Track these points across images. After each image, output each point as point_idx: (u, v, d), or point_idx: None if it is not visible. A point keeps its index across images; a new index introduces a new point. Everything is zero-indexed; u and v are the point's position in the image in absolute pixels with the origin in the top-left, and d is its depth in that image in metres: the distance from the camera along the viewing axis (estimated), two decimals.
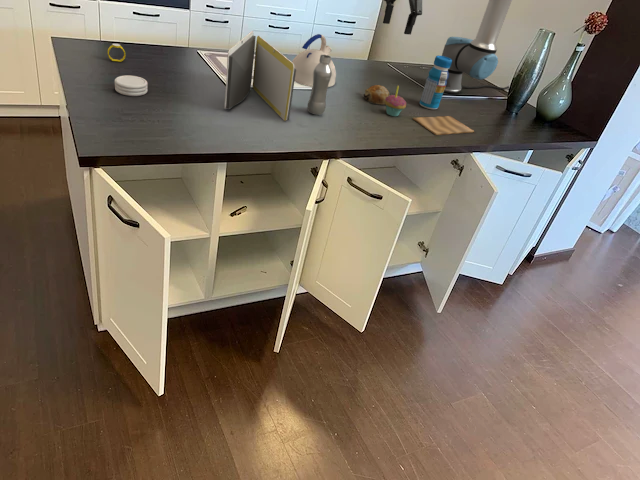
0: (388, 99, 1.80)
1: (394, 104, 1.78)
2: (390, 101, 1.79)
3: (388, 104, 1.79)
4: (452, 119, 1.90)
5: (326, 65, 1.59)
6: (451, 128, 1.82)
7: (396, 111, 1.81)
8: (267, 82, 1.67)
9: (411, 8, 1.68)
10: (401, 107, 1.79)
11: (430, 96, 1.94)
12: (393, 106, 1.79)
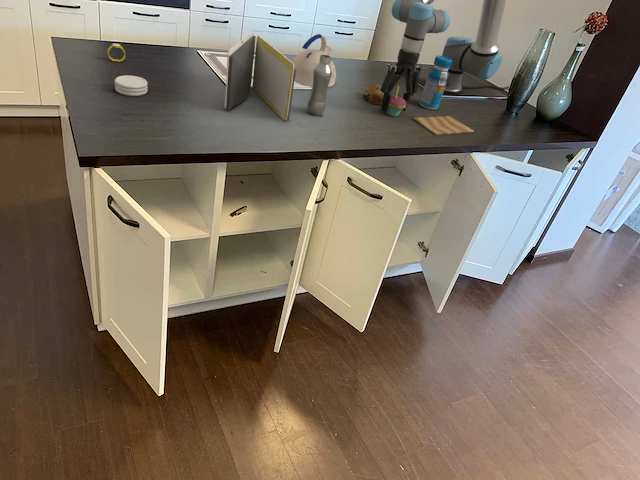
0: None
1: (394, 104, 1.78)
2: (390, 101, 1.79)
3: None
4: (452, 119, 1.90)
5: (326, 65, 1.59)
6: (451, 128, 1.82)
7: (396, 111, 1.81)
8: (267, 82, 1.67)
9: None
10: (401, 107, 1.79)
11: (430, 96, 1.94)
12: (393, 106, 1.79)
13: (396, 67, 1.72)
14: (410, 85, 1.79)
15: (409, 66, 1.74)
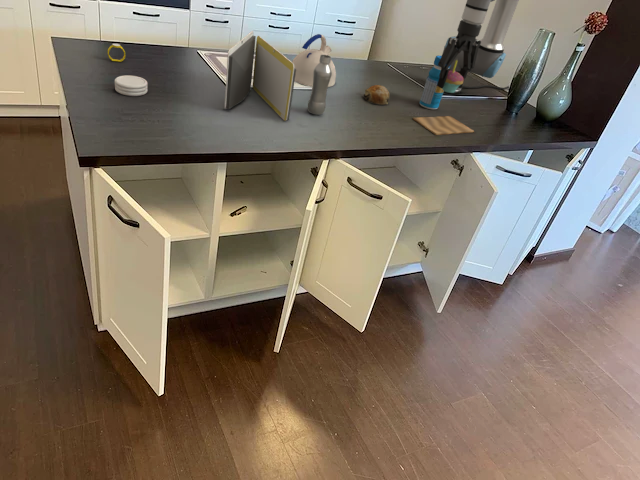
0: None
1: (452, 79, 1.70)
2: (447, 76, 1.71)
3: None
4: (452, 119, 1.90)
5: (326, 65, 1.59)
6: (451, 128, 1.82)
7: (453, 87, 1.73)
8: (267, 82, 1.67)
9: None
10: (459, 83, 1.71)
11: (430, 96, 1.94)
12: (451, 81, 1.71)
13: (456, 40, 1.64)
14: (468, 60, 1.71)
15: (469, 39, 1.66)
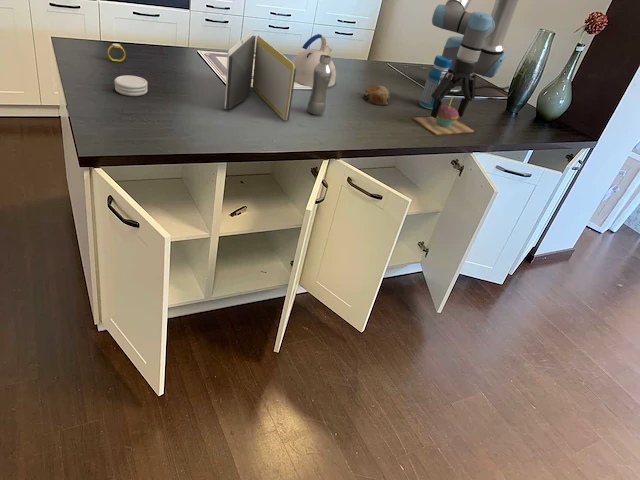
0: (441, 110, 1.79)
1: (447, 115, 1.78)
2: (443, 112, 1.78)
3: (441, 115, 1.79)
4: None
5: (326, 65, 1.59)
6: (451, 128, 1.82)
7: (449, 122, 1.80)
8: (267, 82, 1.67)
9: None
10: (454, 118, 1.79)
11: (430, 96, 1.94)
12: (446, 117, 1.78)
13: (452, 75, 1.70)
14: (467, 92, 1.78)
15: (465, 76, 1.73)
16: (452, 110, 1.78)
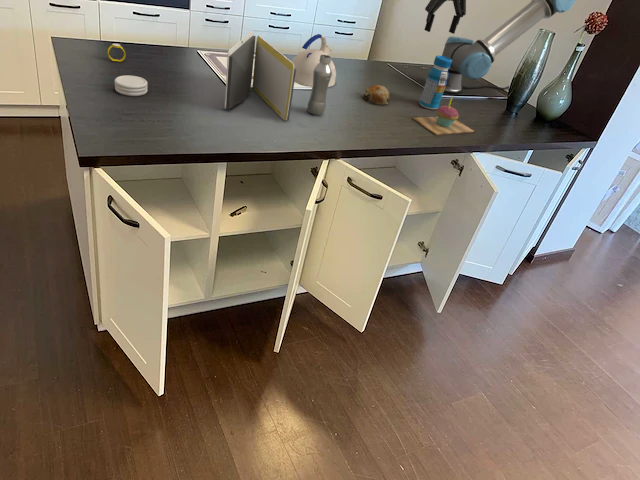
0: (441, 110, 1.79)
1: (447, 115, 1.78)
2: (443, 112, 1.78)
3: (441, 115, 1.79)
4: None
5: (326, 65, 1.59)
6: (451, 128, 1.82)
7: (449, 122, 1.80)
8: (267, 82, 1.67)
9: None
10: (454, 118, 1.79)
11: (430, 96, 1.94)
12: (446, 117, 1.78)
13: None
14: (459, 8, 1.91)
15: None
16: (452, 110, 1.78)
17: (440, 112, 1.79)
